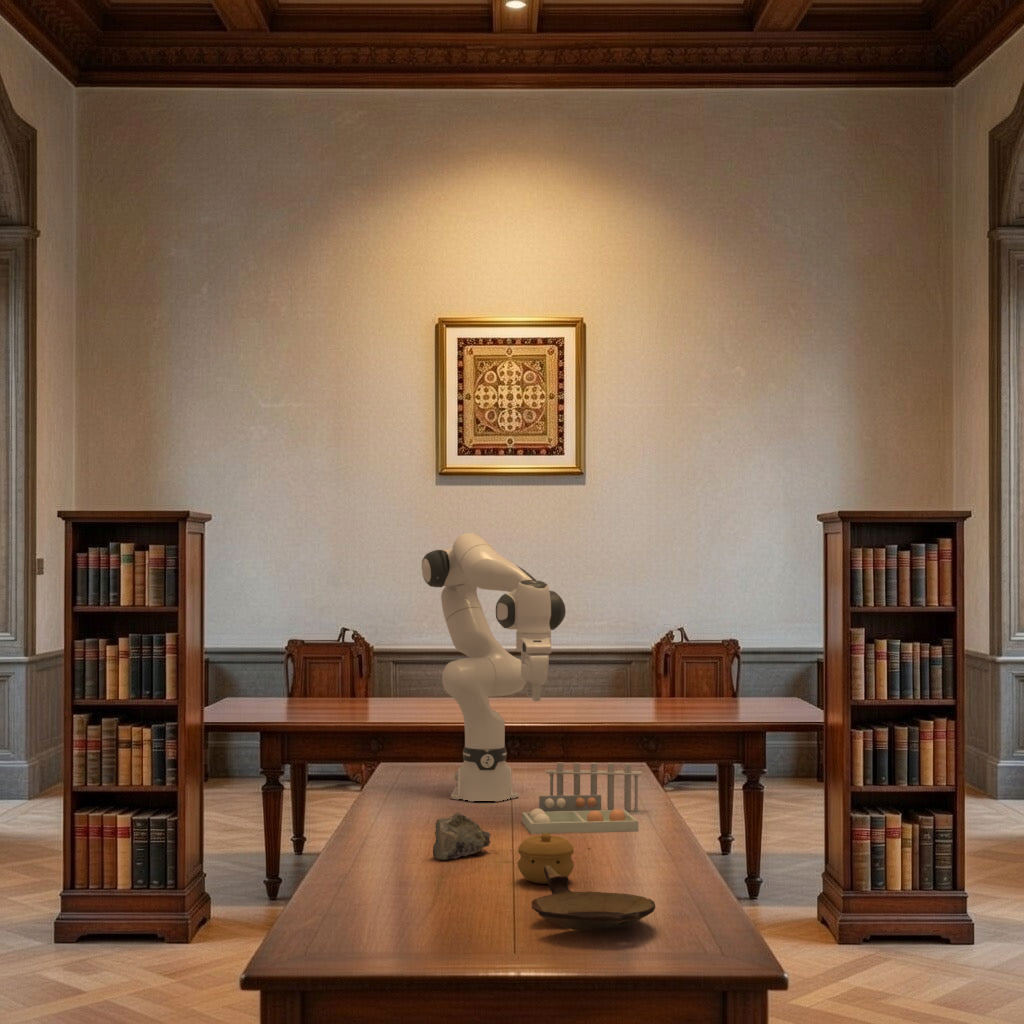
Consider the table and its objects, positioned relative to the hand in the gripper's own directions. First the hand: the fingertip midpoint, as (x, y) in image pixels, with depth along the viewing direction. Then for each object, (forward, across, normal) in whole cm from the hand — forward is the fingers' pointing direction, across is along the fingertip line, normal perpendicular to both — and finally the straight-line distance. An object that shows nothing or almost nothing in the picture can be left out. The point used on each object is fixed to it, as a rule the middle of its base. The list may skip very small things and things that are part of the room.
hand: (533, 699), depth 350 cm
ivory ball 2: (+30, +13, 0) cm, 33 cm away
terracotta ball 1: (+30, +9, +14) cm, 35 cm away
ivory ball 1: (+30, +6, 0) cm, 31 cm away
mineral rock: (+31, +37, -22) cm, 53 cm away
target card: (+31, -3, +10) cm, 33 cm away
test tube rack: (+32, -10, +18) cm, 38 cm away
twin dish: (+31, +9, +10) cm, 34 cm away
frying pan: (+32, +95, -4) cm, 100 cm away
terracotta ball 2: (+30, +9, +20) cm, 37 cm away
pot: (+31, +62, -7) cm, 70 cm away
